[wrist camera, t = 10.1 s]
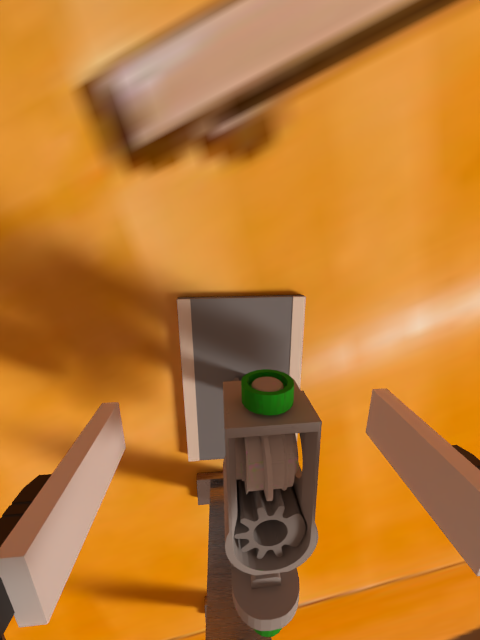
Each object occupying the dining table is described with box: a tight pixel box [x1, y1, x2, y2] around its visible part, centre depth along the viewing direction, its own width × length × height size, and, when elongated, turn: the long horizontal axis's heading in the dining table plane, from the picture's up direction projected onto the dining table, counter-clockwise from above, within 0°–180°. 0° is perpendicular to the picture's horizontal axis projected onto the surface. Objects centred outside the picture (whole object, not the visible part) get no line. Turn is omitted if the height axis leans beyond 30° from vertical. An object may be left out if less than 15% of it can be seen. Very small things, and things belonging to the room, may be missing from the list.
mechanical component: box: [223, 369, 322, 637], centre depth 13 cm, size 3×10×10 cm, turn 1°
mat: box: [177, 295, 306, 461], centre depth 18 cm, size 12×8×1 cm, turn 1°
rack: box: [197, 472, 271, 640], centre depth 18 cm, size 16×5×10 cm, turn 1°
